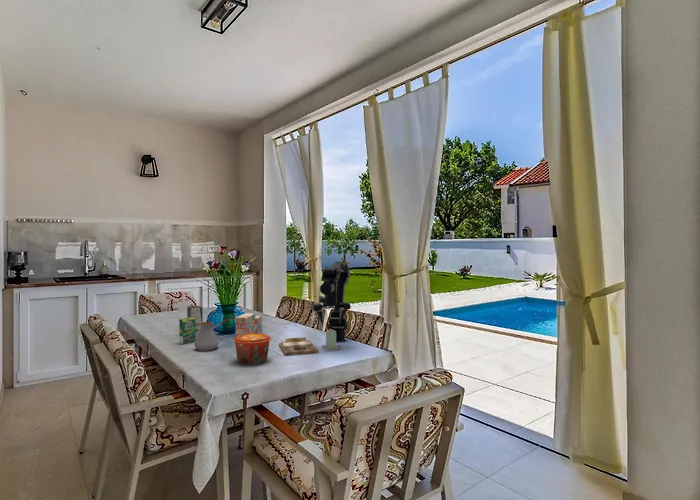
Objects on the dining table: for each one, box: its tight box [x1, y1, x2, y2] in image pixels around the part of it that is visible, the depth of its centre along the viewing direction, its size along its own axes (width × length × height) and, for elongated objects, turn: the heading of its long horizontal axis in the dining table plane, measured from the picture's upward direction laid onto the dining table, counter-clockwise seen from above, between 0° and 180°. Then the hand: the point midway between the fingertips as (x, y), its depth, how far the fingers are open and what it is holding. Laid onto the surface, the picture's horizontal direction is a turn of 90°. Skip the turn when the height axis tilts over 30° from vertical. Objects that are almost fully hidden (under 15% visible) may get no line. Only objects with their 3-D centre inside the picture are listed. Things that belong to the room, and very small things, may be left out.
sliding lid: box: [280, 336, 313, 348], centre depth 213 cm, size 14×9×3 cm, turn 108°
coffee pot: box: [193, 315, 237, 352], centre depth 213 cm, size 21×12×15 cm, turn 131°
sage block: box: [325, 329, 337, 348], centre depth 212 cm, size 4×4×8 cm
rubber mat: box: [321, 344, 341, 352], centre depth 212 cm, size 7×9×1 cm
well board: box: [278, 340, 320, 357], centre depth 209 cm, size 16×19×2 cm
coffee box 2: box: [178, 317, 197, 345], centre depth 222 cm, size 8×3×13 cm, turn 147°
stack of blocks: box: [235, 312, 263, 338], centre depth 239 cm, size 21×6×12 cm, turn 169°
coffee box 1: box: [186, 304, 203, 336], centre depth 239 cm, size 9×6×16 cm
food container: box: [233, 332, 272, 366], centre depth 190 cm, size 16×16×11 cm
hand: (330, 323), depth 212 cm, fingers open, 9 cm apart
